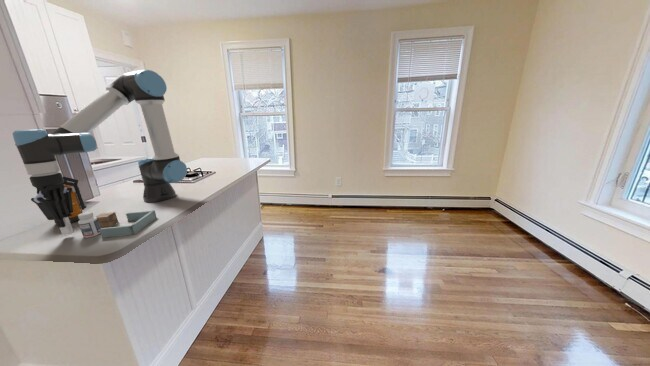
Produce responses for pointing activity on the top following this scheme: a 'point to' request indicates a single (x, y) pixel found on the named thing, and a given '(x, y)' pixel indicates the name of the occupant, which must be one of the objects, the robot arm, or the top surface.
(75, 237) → the top surface
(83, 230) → the pill bottle
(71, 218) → the canister
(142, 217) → the box
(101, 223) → the tan block
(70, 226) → the robot arm
